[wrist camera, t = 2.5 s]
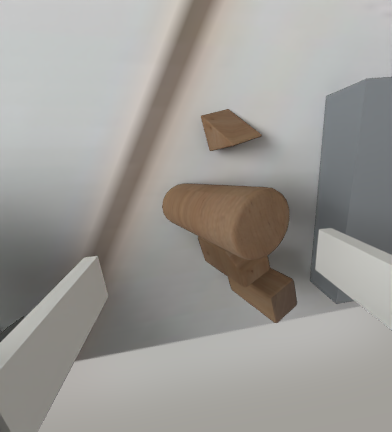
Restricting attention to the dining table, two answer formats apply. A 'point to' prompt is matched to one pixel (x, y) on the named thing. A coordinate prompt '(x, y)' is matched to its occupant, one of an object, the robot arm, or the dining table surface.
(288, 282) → the wooden block set
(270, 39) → the dining table surface
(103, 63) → the dining table surface
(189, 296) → the dining table surface
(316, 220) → the grey rectangular slab
